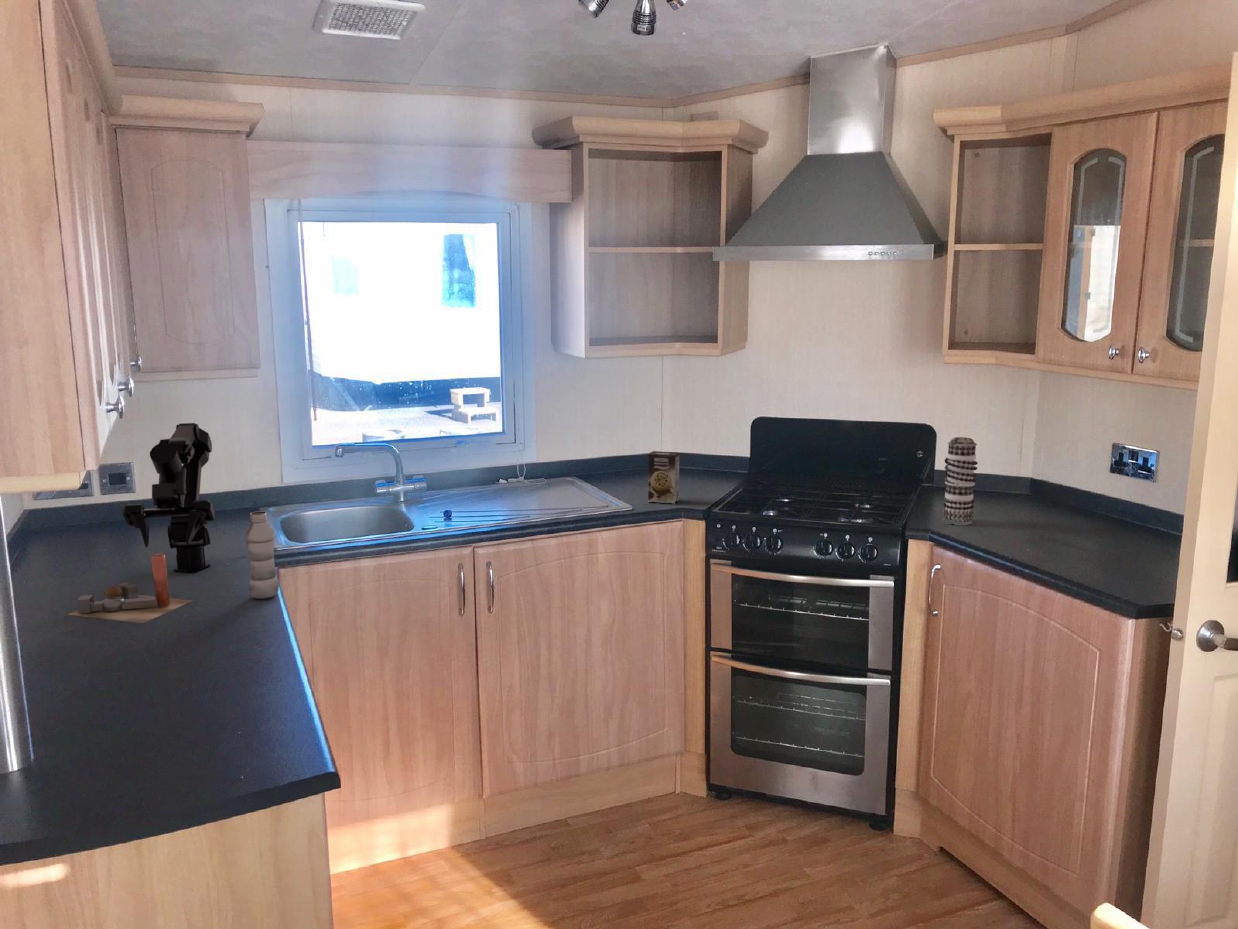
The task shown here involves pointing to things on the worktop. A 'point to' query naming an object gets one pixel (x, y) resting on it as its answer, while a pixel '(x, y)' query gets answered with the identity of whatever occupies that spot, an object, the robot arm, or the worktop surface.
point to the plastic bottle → (261, 557)
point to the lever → (119, 603)
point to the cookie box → (663, 477)
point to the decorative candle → (960, 479)
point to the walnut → (113, 592)
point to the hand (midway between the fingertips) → (167, 545)
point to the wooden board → (137, 613)
